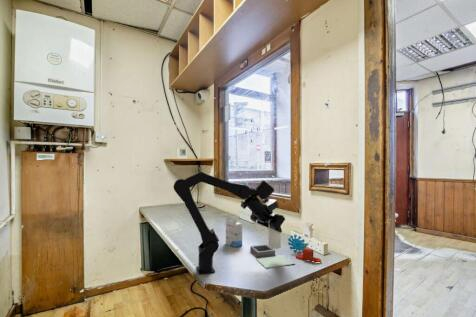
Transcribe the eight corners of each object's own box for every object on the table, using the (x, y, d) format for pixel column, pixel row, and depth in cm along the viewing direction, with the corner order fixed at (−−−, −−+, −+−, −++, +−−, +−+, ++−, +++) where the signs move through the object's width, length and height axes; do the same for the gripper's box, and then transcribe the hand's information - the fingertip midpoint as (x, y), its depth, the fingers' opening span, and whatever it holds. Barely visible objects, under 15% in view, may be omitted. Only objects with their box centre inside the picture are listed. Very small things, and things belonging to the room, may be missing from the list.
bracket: (294, 258, 109) (294, 247, 109) (297, 256, 112) (297, 245, 112) (319, 264, 102) (319, 252, 102) (322, 261, 105) (322, 250, 106)
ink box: (242, 245, 126) (242, 217, 126) (236, 247, 122) (236, 218, 123) (231, 241, 132) (231, 215, 132) (225, 243, 128) (225, 216, 129)
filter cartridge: (283, 248, 103) (283, 215, 104) (271, 249, 101) (272, 216, 102) (276, 244, 108) (277, 213, 109) (266, 245, 106) (266, 214, 107)
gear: (290, 252, 112) (286, 233, 119) (286, 257, 115) (282, 239, 123) (312, 253, 114) (306, 235, 121) (306, 259, 117) (302, 240, 125)
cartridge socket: (275, 255, 111) (275, 250, 111) (257, 257, 108) (257, 252, 108) (266, 249, 120) (266, 244, 120) (250, 251, 117) (250, 246, 117)
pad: (295, 264, 101) (295, 263, 101) (265, 268, 97) (265, 267, 97) (283, 256, 111) (283, 255, 111) (256, 259, 106) (256, 258, 106)
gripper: (281, 195, 96) (301, 220, 101) (255, 191, 112) (273, 212, 117) (266, 217, 91) (287, 241, 96) (241, 209, 107) (260, 230, 112)
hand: (277, 230), depth 106 cm, fingers closed on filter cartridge, 5 cm apart
